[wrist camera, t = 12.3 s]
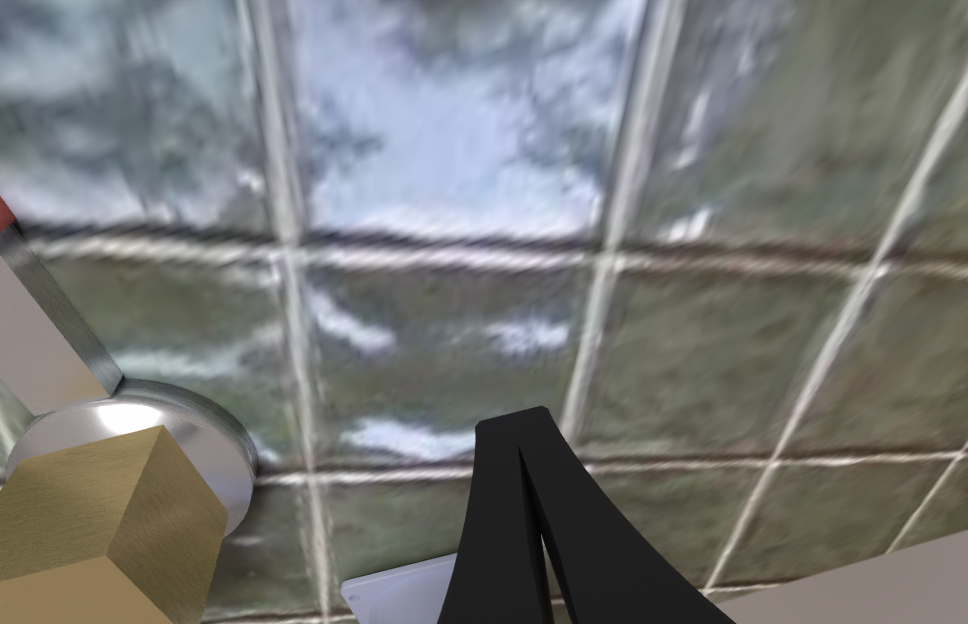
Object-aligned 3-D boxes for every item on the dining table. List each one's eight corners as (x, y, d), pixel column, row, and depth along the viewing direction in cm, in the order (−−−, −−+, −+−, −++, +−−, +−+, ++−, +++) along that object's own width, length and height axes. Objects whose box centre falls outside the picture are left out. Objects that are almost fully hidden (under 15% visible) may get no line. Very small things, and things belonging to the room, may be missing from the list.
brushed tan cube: (229, 514, 23) (194, 645, 19) (104, 545, 23) (43, 682, 19) (163, 424, 20) (105, 555, 16) (20, 459, 20) (-73, 599, 16)
